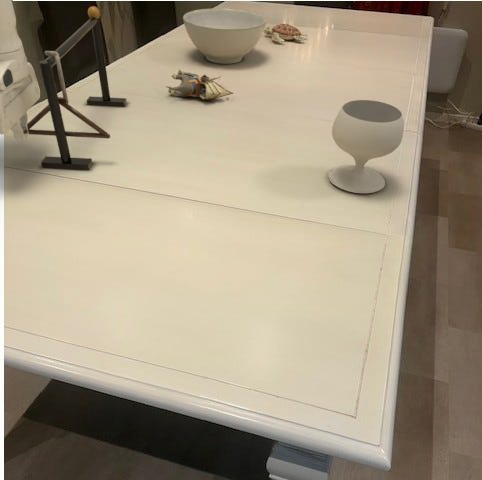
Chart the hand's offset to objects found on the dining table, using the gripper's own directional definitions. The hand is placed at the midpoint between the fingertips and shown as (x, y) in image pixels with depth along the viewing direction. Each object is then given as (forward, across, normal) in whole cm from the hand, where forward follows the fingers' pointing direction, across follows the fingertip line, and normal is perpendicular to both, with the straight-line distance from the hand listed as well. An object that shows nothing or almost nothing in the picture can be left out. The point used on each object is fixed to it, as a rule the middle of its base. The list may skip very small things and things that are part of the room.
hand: (22, 137), depth 98 cm
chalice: (+7, -2, +70) cm, 70 cm away
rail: (+7, -19, +7) cm, 21 cm away
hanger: (+1, -4, +7) cm, 8 cm away
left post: (+7, -38, +7) cm, 39 cm away
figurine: (+7, -47, +32) cm, 57 cm away
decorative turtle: (+7, -112, +58) cm, 126 cm away
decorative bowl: (+7, -84, +36) cm, 91 cm away
